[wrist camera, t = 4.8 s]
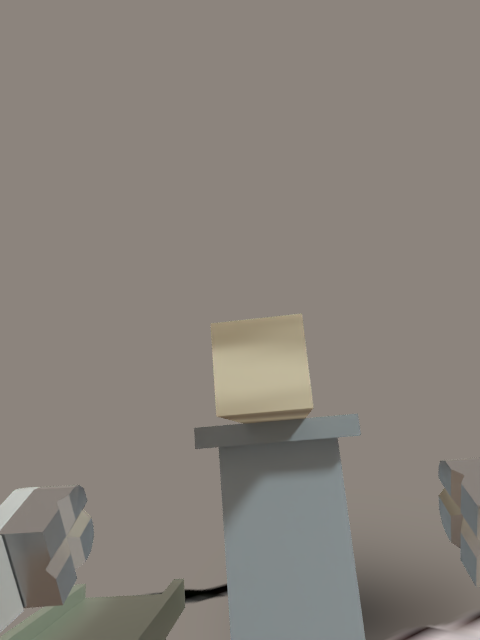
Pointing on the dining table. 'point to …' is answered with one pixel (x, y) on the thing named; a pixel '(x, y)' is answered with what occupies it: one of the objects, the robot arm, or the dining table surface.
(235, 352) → the block
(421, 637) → the dining table surface
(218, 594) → the dining table surface
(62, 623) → the box with lid
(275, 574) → the plinth
